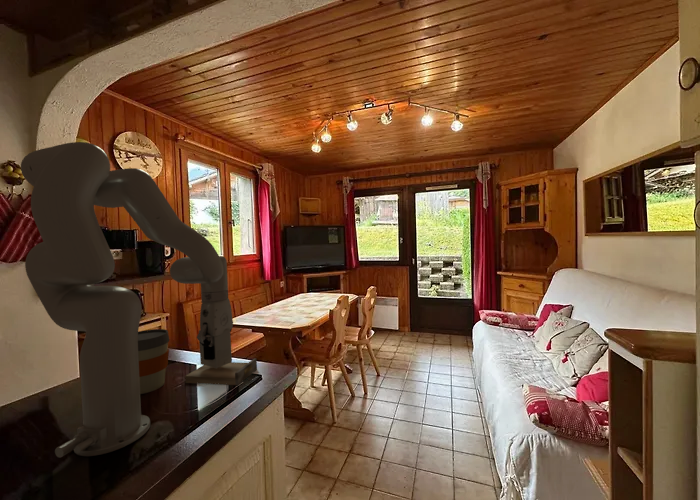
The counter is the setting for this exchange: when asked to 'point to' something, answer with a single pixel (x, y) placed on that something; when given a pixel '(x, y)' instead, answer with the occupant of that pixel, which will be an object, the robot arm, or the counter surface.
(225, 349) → the small box
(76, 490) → the counter surface
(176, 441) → the counter surface
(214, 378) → the shelf board
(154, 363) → the reusable coffee cup
